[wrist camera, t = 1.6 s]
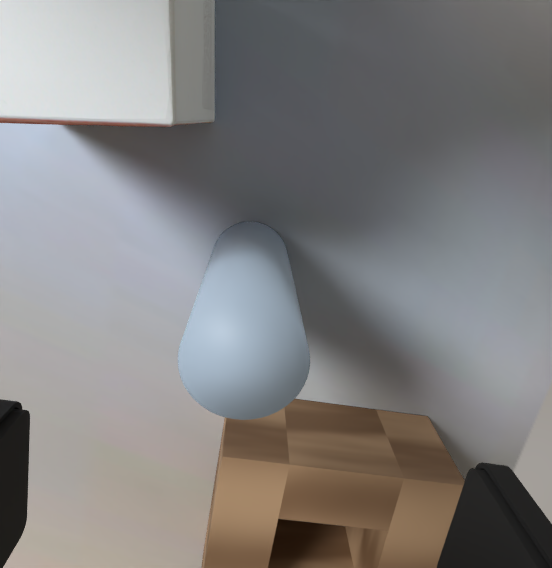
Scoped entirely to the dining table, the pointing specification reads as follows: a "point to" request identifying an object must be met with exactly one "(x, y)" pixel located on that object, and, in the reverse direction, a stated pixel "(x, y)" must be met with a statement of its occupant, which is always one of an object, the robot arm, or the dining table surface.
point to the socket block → (331, 490)
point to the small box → (107, 62)
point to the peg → (245, 328)
